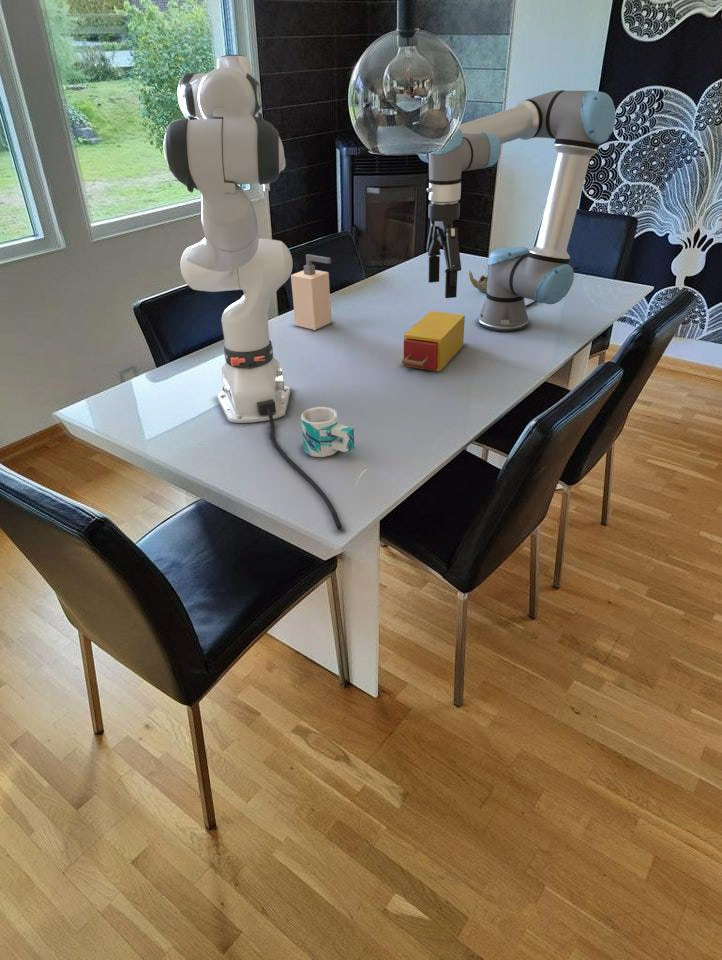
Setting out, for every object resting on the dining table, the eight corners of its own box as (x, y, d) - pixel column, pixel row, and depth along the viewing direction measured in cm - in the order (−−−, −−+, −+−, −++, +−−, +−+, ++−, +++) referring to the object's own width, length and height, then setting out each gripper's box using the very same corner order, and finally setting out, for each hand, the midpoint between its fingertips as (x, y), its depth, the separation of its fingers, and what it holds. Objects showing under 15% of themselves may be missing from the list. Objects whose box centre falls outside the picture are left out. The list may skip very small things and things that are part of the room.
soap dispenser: (294, 325, 217) (288, 256, 206) (311, 317, 223) (306, 249, 211) (325, 332, 211) (320, 261, 199) (342, 324, 217) (338, 255, 205)
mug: (318, 435, 155) (315, 403, 150) (361, 448, 149) (360, 415, 145) (296, 451, 149) (293, 418, 145) (340, 465, 143) (338, 431, 139)
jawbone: (458, 276, 240) (475, 251, 236) (488, 295, 247) (504, 271, 244) (468, 284, 232) (486, 259, 229) (499, 304, 240) (516, 280, 236)
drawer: (428, 378, 178) (429, 352, 174) (396, 372, 181) (395, 347, 177) (458, 345, 196) (459, 321, 192) (428, 341, 200) (428, 317, 196)
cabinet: (439, 371, 183) (440, 339, 178) (404, 366, 187) (404, 334, 182) (463, 345, 199) (464, 315, 194) (429, 340, 203) (430, 311, 198)
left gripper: (200, 136, 161) (209, 197, 169) (283, 130, 166) (289, 190, 173) (198, 134, 167) (207, 193, 174) (279, 128, 171) (284, 187, 178)
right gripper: (414, 193, 170) (414, 277, 182) (446, 213, 150) (443, 306, 161) (442, 191, 171) (440, 274, 183) (477, 210, 151) (473, 302, 163)
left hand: (248, 192), depth 174 cm, fingers open, 8 cm apart
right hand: (442, 289), depth 172 cm, fingers open, 13 cm apart
